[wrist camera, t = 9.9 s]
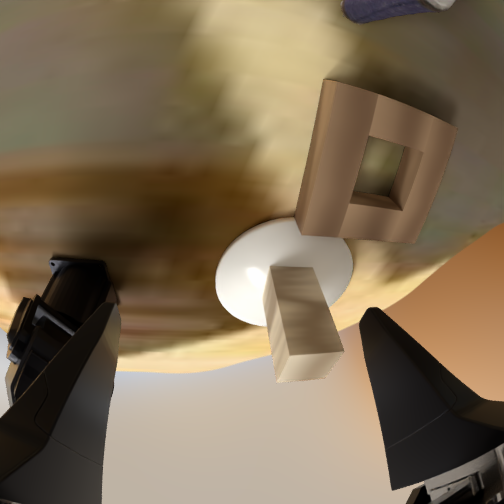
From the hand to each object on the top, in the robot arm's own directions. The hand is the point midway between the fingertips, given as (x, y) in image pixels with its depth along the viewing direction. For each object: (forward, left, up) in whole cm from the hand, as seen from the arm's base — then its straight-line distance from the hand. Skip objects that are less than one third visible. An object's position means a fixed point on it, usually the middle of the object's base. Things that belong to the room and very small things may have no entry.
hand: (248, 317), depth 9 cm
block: (+6, -10, -12) cm, 17 cm away
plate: (+6, -10, -13) cm, 17 cm away
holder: (+11, +2, -13) cm, 17 cm away
